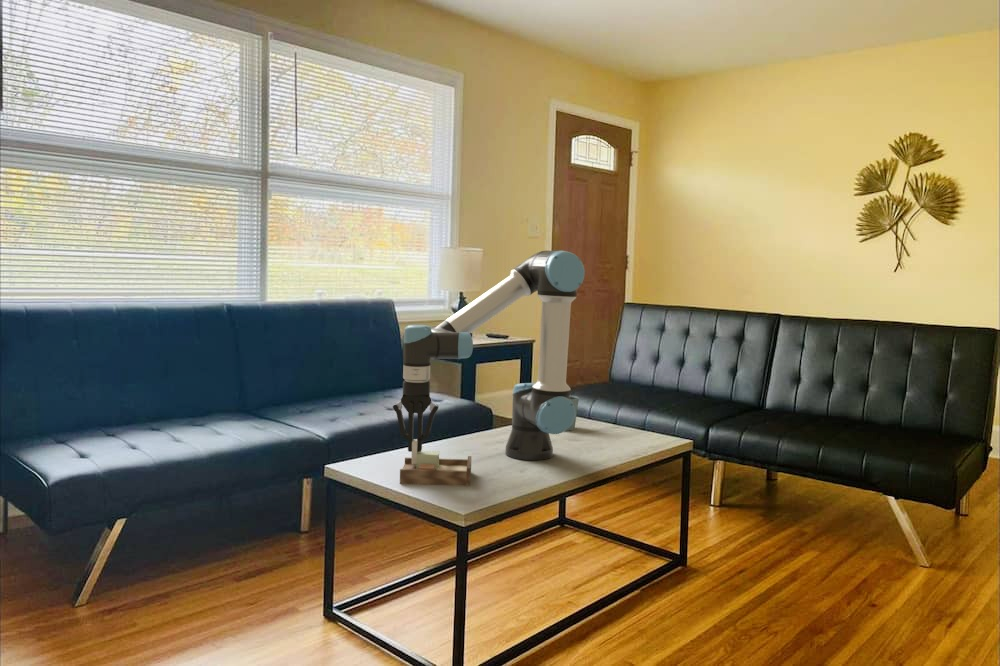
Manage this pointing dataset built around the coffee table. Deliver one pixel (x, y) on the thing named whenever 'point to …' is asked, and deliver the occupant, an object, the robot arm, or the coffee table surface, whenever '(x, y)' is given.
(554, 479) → the coffee table surface
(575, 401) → the grey-blue cup
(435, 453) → the sage block
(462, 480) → the wooden tray
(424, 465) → the rust block
